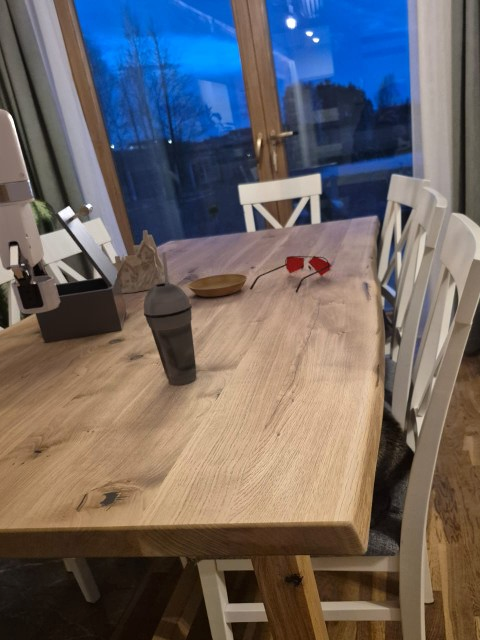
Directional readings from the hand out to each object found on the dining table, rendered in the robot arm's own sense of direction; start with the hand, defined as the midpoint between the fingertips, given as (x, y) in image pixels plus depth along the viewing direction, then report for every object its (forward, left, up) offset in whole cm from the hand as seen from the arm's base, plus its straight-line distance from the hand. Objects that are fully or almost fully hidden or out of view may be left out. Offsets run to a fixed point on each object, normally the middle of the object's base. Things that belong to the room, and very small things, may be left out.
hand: (38, 301), depth 101 cm
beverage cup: (+22, -18, -12) cm, 31 cm away
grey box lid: (+7, +23, +5) cm, 24 cm away
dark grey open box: (+2, +23, -12) cm, 26 cm away
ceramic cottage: (+12, +58, -12) cm, 60 cm away
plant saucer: (+32, +37, -12) cm, 51 cm away
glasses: (+50, +34, -12) cm, 62 cm away
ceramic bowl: (0, 0, -1) cm, 1 cm away
